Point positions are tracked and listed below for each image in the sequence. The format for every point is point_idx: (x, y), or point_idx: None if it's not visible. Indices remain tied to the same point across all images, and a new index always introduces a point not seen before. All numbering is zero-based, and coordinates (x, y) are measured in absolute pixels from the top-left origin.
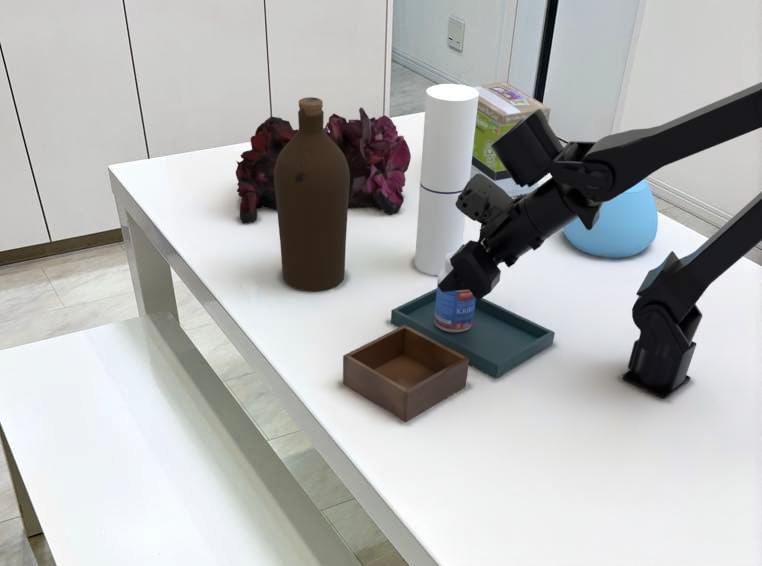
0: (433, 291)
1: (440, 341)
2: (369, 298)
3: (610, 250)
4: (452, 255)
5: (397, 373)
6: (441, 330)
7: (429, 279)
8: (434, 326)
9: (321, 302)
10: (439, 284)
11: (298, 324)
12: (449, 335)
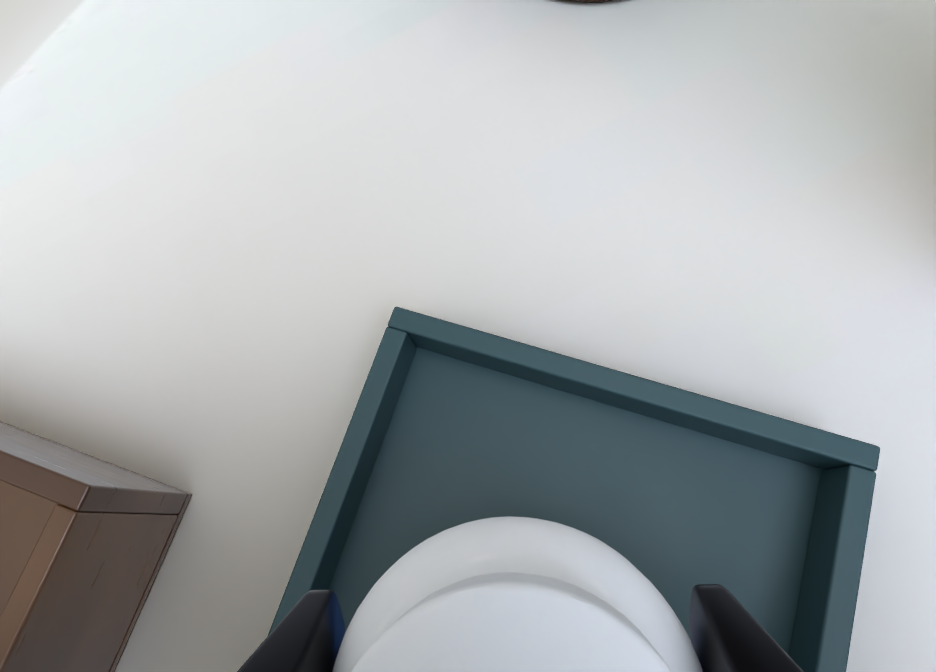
0: (706, 413)
1: None
2: (562, 152)
3: None
4: (522, 670)
5: (2, 556)
6: None
7: (924, 298)
8: None
9: (428, 23)
10: (292, 611)
11: (238, 43)
12: None
